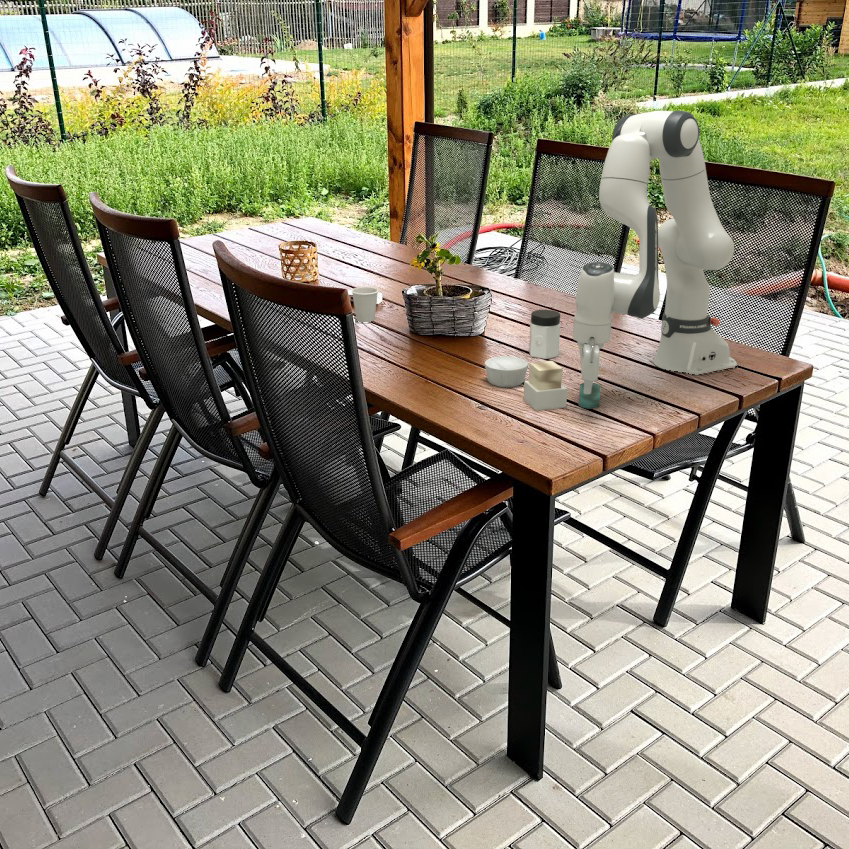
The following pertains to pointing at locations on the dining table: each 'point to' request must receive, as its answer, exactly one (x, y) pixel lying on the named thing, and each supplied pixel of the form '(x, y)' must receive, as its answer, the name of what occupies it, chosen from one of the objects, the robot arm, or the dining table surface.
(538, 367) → the birch top block
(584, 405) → the teal cylinder
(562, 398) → the grey base block
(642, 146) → the robot arm
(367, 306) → the dixie cup
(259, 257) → the dining table surface
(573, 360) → the dining table surface
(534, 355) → the jar
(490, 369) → the ramekin
